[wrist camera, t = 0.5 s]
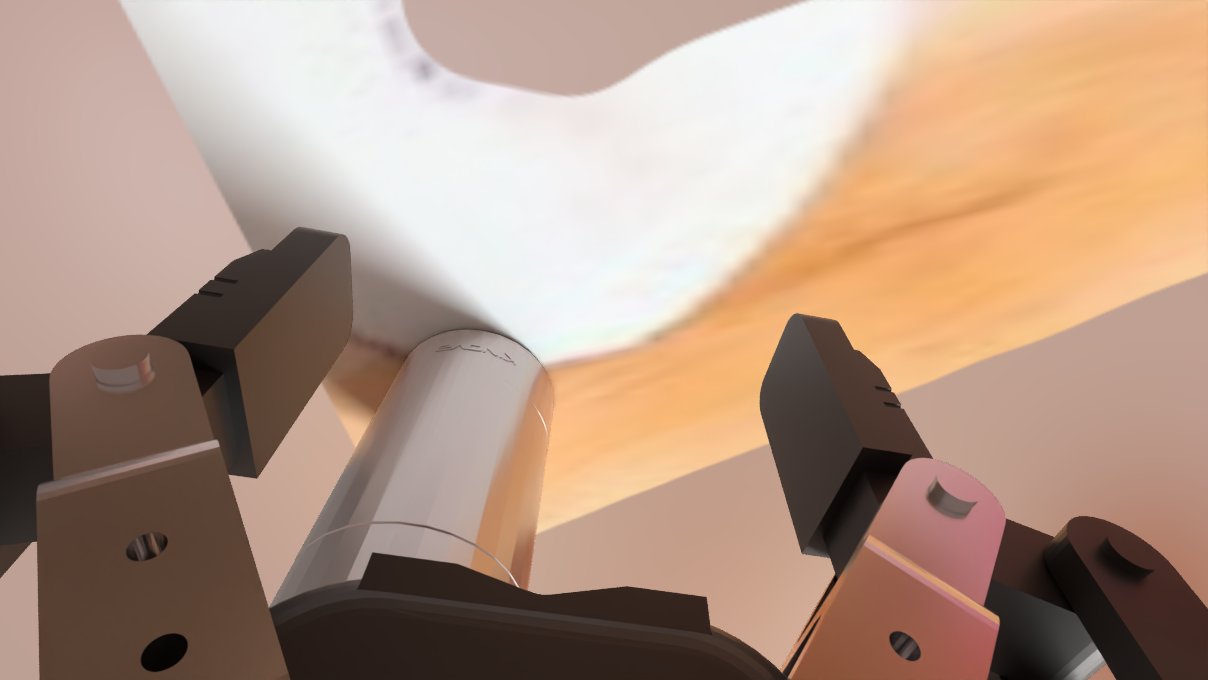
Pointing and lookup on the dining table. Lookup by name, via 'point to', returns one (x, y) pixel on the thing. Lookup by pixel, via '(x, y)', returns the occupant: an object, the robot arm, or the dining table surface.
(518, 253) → the dining table surface
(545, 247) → the dining table surface
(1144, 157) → the dining table surface
